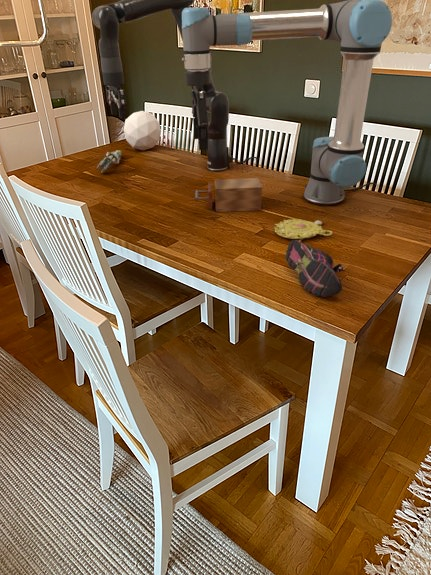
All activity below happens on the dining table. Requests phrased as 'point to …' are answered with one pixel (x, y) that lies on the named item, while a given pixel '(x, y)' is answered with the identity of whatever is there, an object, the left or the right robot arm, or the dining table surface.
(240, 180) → the wooden drawer box
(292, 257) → the athletic shoe
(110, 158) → the figurine
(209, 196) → the drawer
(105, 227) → the dining table surface
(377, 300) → the dining table surface
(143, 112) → the sphere
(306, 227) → the decorative object
